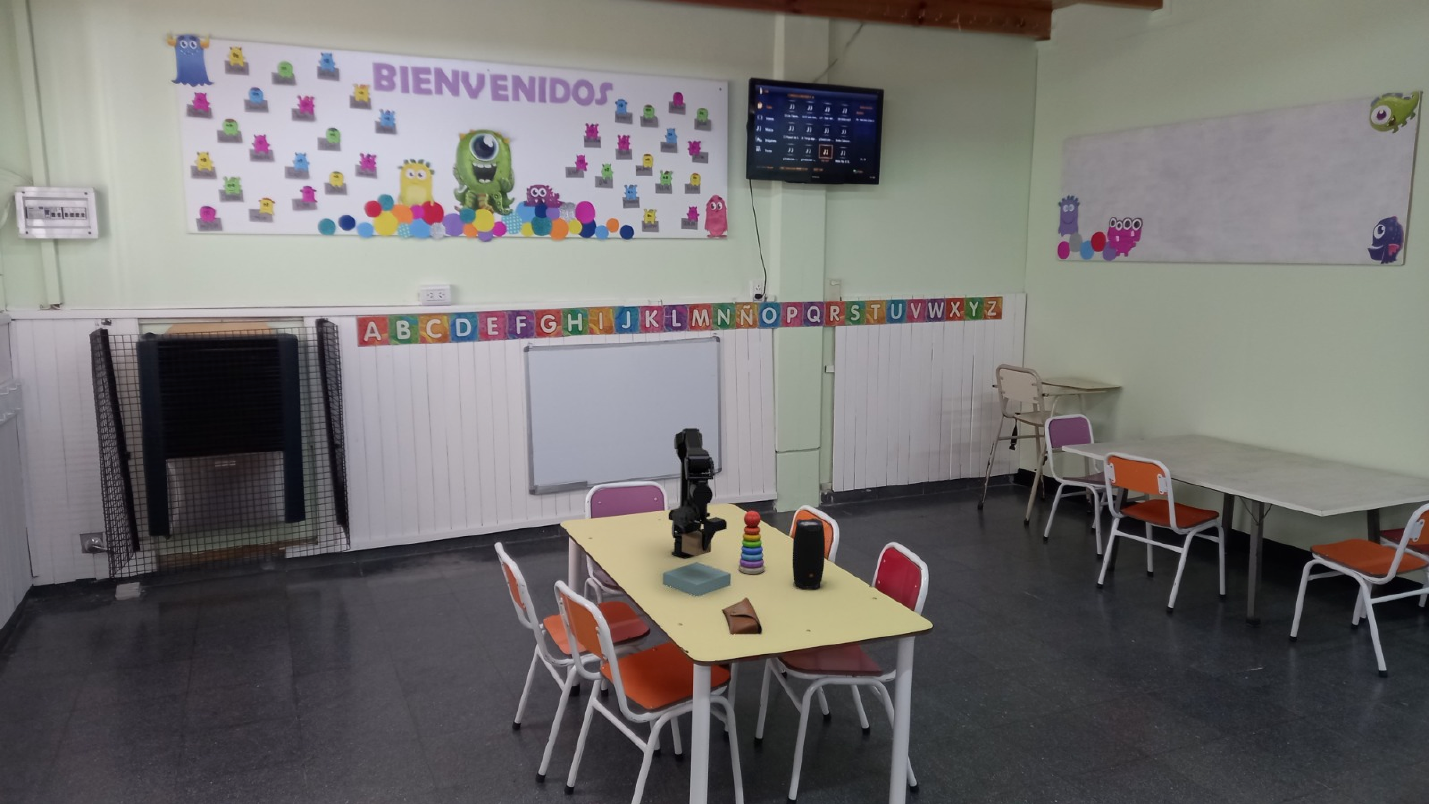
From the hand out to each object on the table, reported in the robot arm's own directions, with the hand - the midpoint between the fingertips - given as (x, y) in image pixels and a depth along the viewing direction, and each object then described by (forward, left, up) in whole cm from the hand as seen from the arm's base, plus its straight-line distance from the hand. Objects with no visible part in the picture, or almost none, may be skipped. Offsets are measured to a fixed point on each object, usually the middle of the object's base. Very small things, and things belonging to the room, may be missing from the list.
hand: (696, 548), depth 276 cm
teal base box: (0, 0, -12) cm, 12 cm away
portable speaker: (-23, +23, -11) cm, 35 cm away
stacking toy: (-21, +3, -11) cm, 24 cm away
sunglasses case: (+11, +28, -12) cm, 32 cm away
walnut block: (0, 0, -1) cm, 1 cm away
